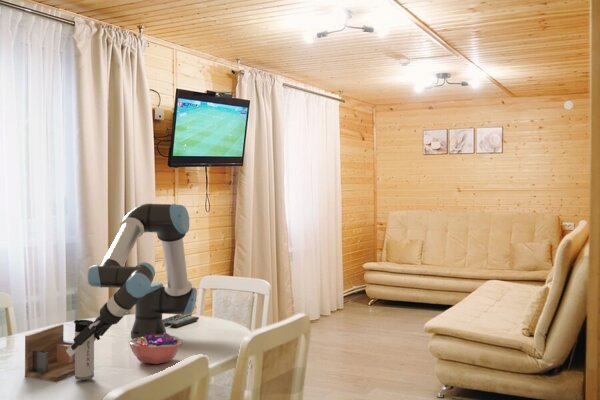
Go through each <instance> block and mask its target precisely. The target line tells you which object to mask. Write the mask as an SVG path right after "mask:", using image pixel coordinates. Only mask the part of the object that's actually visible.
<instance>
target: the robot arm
mask: <svg viewBox="0 0 600 400" xmlns="http://www.w3.org/2000/svg"><path fill="white" fill-rule="evenodd" d="M189 230H190V214H189V212H188V209H187V208H186V206H184V205H182V204H176V203H170V204H169V203H168V204H166V203H164V204H163V203H144V204H141V205H138V206H136V207H135V208H133V209H132V210H130V211H129V212H128V213H127V214H126V215H125V216H124V217H123V218H122V219H121V222H120V224H119V231H118V233H117V234H116V236H115V238H114V239H113V242H112V243H111V245H110V246H109V249H108V250H107V252H106V254H105V255H104V258H103V259H102V261H101V262H100V264H99V265H98V264H96V265H92V266H90V267H89V269H88V272H87V281H88V284H89V286H91V287H95V288H101V289H102V288H111V289H112V288H118V290H117V291H116V292H115V293H113V294H112V296H111V297H110V298H109V299H108V300H107V302H105V303H104V304H103V306H101V308H99V316H97V318H95V320H93V323H92V322H89V324H88V325H87V326H86V327H85V328H84V329H83V330H82V331H81V332H80V333H79V334H78V335H77V336H76V337H75V336H74V338H73V339H72V340H73V342H74V343H73V344H72V345H71V346H70V347H69V348H68V349H67V350H66V352H67V353H68V355H69V356H70V357H71V356H73V354H74V353H75V352H76V351H77V350H78V349H79V348H80V347H81V346H82V345H83V343H84V342H85V341H86V340H87V339H88V338H90V337H91V336H92V335H93V334H94V342H95V341H100V340H101V337H102V336H104V335H105V333H106V332H107V331H108V330H109V329H110V328H111V326H112V325H117V324H118V323H119V322H120V321H121V320H122V319H124V317H125V315H128V314H129V313H130V310H131V309H133V307H134V306H135V307H134V308H135V309H134V310H135V311H134V315H135V316H134V322H133V325H132V328H131V330H130V338H131V340H133V339H135V338H138V337H145V335H148V336H151V335H152V334H153V335H154V334H155V335H163V334H164V333H167V329H166V327H165V323H164V321H163V320H164V319H163V314H167V315H182V316H184V315H191V314H193V312H194V310H195V307H196V302H197V298H198V297H197V296H198V289H197V288H196V287H193V286H192V283H191V281H189V279H188V272H187V271H188V270H187V264H186V256H185V255H186V254H185V248H184V247H185V246H184V238H185V236H187V235H186V234H187V233H188V232H189ZM144 233H156V238H157V239H158V240H159V241H160V242H161V244H162V252H163V259H164V267H165V273H166V274H165V275H166V280H167V283H166V284H165V286H164V284H163V282H153V281H154V279H155V276H156V269H155V267H154V266H153V265H152V264H151V263H148V262H143V261H142V262H141V263H138V264H137V265H135V266H125V264H126V262H127V260H128V258H129V256H130V254H131V252H132V250H133V248H134V246H135V245H136V243H137V240H138V239H139V238H141V237H142V236H143V235H144Z"/></svg>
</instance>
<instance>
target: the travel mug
mask: <svg viewBox="0 0 600 400" xmlns="http://www.w3.org/2000/svg"><path fill="white" fill-rule="evenodd" d="M89 322H92V323H93V322H94V320H90V319H75V320H74V321H73V324H74V338H75V337H76V336H77V335H78V334H79V333H80V332H81V331H82V330H83V329H84V328H85V327H86V326H87V325H88V324H89ZM93 377H95V341H94V334H93V335H92V336H91V337H90V338H88V339H87V340H86V341H85V342H84V343H83V345H82V346H81V347H80V348H79V349H78V350H77V351H76V352H75V374H74V379H76V380H78V381H87V380H91V379H93Z"/></svg>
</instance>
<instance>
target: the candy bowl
mask: <svg viewBox="0 0 600 400" xmlns="http://www.w3.org/2000/svg"><path fill="white" fill-rule="evenodd" d="M182 342H183V339H181V338H179V337H177V336H175V335H170V334H169V333H167V332H166V333H164V334H163V335H155V334H154V335H153V334H152V335H151V336H148V335H145V337H138V338H135V339H131V340H129V341H128V345H129V346H130V350H131V351H132V353H133V355H134V357H135V358H136V359H137V360H138V361H139V362H141V363H144V364H150V365H151V364H153V365H159V364H163V363H164V364H165V363H167V362H169V361H171V360H173V359H174V358H175V356H176V355H177V353H178V352H179V349H180V348H181V346H182Z"/></svg>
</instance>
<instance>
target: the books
mask: <svg viewBox="0 0 600 400" xmlns="http://www.w3.org/2000/svg"><path fill="white" fill-rule="evenodd" d="M73 343H74V341H71V340H65V339H63V341H60V344H57V361H60V362H66V363H71V362H73V361H75V353H74V354H73V356H71V357H70V356H69V355H68V353H67V352H66V350H67V349H68V348H69V347H70V346H71V345H72V344H73Z"/></svg>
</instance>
